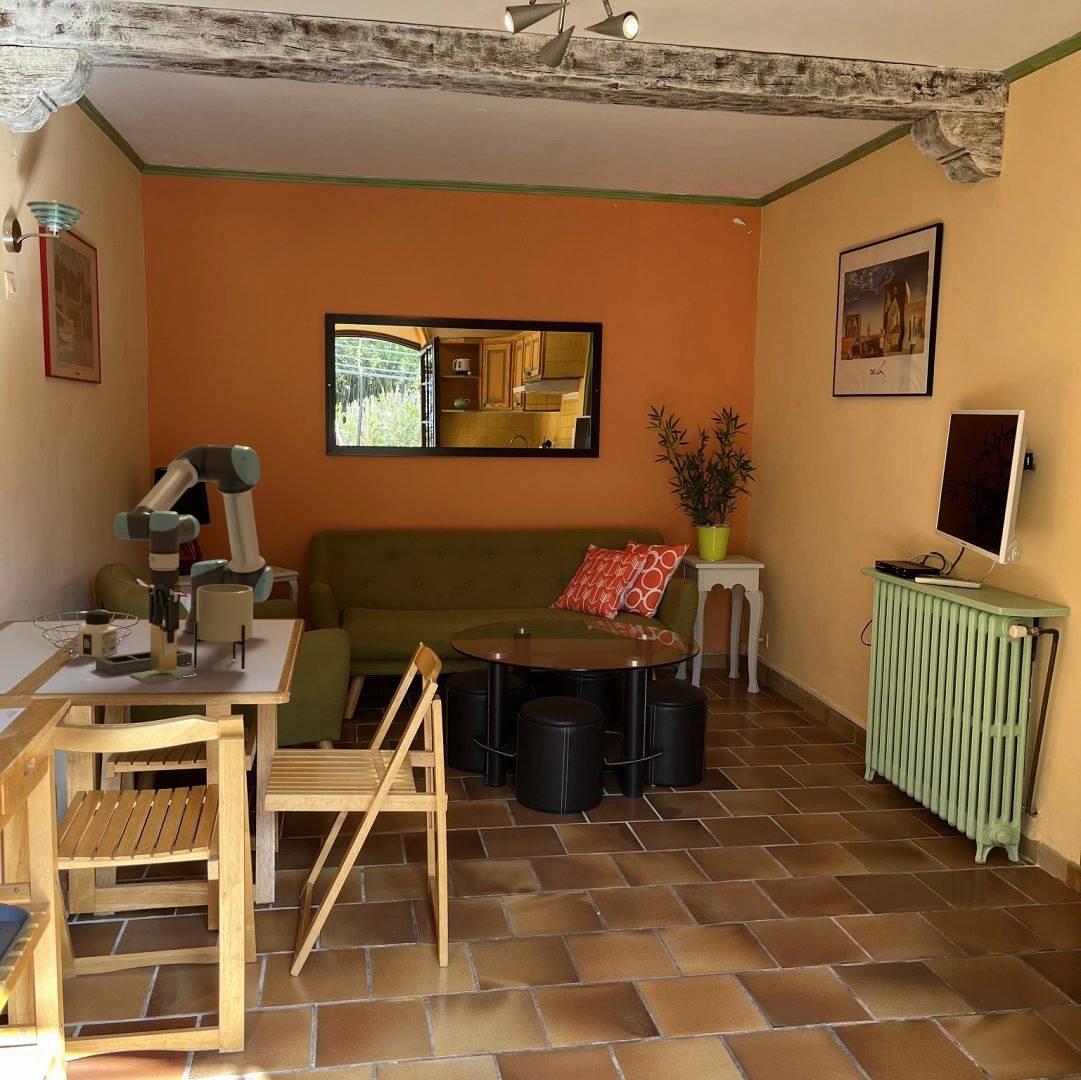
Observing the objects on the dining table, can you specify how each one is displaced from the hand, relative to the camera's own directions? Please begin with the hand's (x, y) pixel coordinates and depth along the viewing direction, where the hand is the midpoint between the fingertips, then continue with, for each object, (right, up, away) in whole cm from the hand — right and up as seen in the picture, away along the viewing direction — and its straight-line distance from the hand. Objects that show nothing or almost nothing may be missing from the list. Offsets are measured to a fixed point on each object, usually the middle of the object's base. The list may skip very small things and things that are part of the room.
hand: (163, 652), depth 289 cm
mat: (0, -7, +1) cm, 7 cm away
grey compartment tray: (-9, -5, +10) cm, 15 cm away
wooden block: (0, -5, 0) cm, 5 cm away
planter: (+13, -6, +13) cm, 19 cm away
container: (-27, -3, +22) cm, 35 cm away
